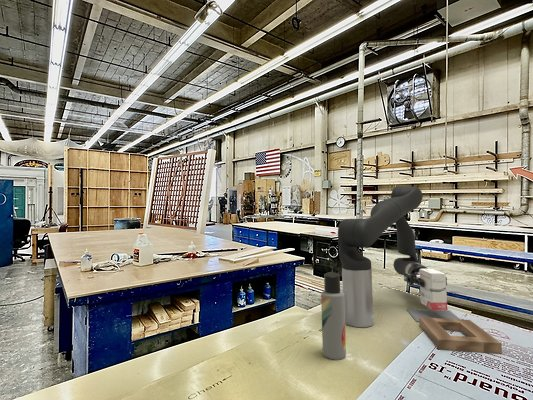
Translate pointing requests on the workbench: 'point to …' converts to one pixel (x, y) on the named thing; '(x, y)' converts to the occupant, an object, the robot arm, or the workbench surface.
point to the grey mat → (431, 314)
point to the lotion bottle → (333, 317)
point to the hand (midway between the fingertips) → (433, 284)
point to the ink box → (433, 289)
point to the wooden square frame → (472, 342)
